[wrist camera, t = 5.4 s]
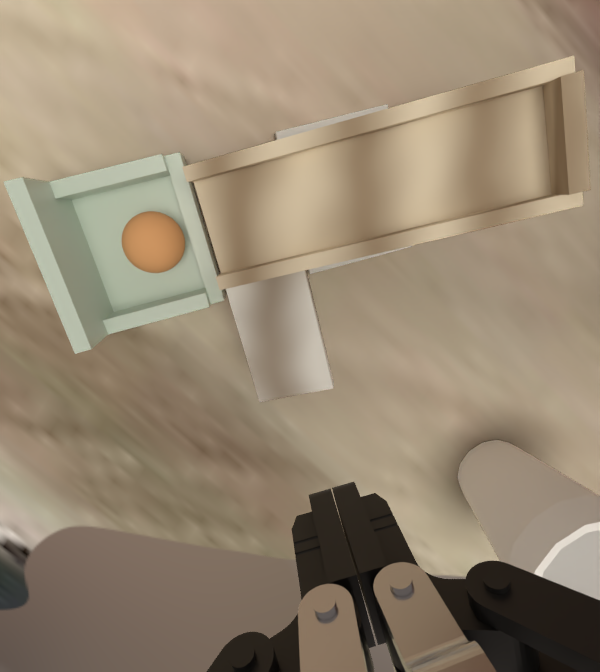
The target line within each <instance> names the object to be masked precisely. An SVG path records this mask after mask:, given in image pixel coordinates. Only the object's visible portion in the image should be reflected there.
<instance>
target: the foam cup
mask: <svg viewBox="0 0 600 672" xmlns="http://www.w3.org/2000/svg"><path fill="white" fill-rule="evenodd" d="M457 478H458V481H459V484H460V488H461V490H462V492H463V494H464V496H465V498H466V500H467V502H468V504H469V505H470V507H471V509H472V511H473V513H474V514H475V516H476V518H477V520H478V522H479V524H480V525H481V527H482V529H483V531H484V533H485V535H486V536H487V538H488V540H489V542H490V544H491V545H492V547H493V549H494V551H495V553H496V555H497V556H498V558H499V560H500V562H505V563H508V564H510V565H513V566H515V567H518V568H520V569H523V570H525V571H528V572H530V573H533V574H535V575H538V576H540V577H543V578H545V579H548V580H550V581H553V582H555V583H558V584H560V585H563V586H565V587H568V588H570V589H573V590H575V591H578V592H580V593H583V594H585V595H588V596H590V597H593V598H595V599H598V600H600V496H599V495H598V494H596V493H594V492H593V491H591V490H589V489H588V488H586V487H584V486H583V485H581V484H579V483H577V482H576V481H574V480H572V479H571V478H569V477H567V476H566V475H564V474H562V473H561V472H559V471H557V470H555V469H554V468H552V467H550V466H549V465H547V464H545V463H544V462H542V461H540V460H539V459H537V458H535V457H533V456H532V455H530V454H528V453H527V452H525V451H523V450H522V449H520V448H518V447H517V446H515V445H512V444H511V443H508V442H504V441H500V440H493V441H488V442H483V443H481V444H479V445H478V446H476V447H475V448H473V449H472V450H470V451H469V452H468V453H467V455H466V456H465V457H464V459H463V460H462V462H461V463H460V466H459V472H458V477H457Z"/></svg>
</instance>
